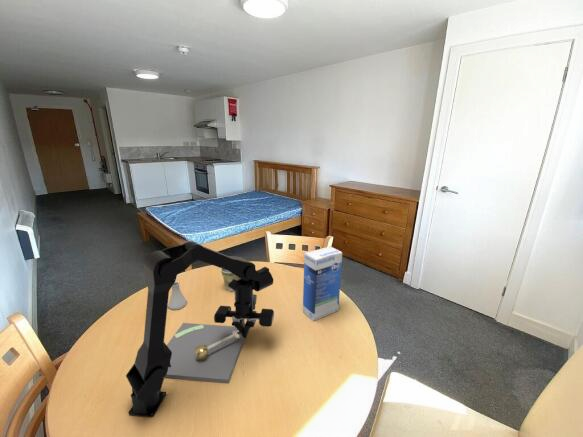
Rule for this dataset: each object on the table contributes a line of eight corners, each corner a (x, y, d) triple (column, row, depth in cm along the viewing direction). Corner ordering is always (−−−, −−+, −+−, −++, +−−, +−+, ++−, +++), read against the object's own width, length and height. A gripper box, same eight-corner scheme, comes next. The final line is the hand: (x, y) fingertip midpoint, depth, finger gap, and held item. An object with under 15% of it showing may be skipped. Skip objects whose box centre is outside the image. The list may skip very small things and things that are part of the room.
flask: (180, 311, 105) (177, 289, 102) (164, 309, 106) (161, 287, 104) (190, 301, 112) (188, 280, 109) (175, 299, 113) (172, 278, 110)
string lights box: (327, 302, 113) (330, 245, 106) (339, 311, 107) (343, 252, 100) (301, 311, 106) (303, 252, 99) (313, 322, 100) (316, 259, 93)
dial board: (228, 383, 74) (228, 379, 74) (147, 375, 76) (146, 372, 75) (247, 330, 95) (247, 326, 95) (183, 325, 97) (183, 322, 97)
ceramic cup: (217, 290, 120) (216, 271, 117) (229, 280, 129) (228, 261, 127) (243, 295, 116) (242, 275, 114) (253, 284, 126) (252, 265, 123)
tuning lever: (198, 362, 79) (197, 355, 78) (194, 355, 81) (193, 348, 80) (243, 340, 88) (242, 333, 87) (237, 334, 91) (237, 327, 90)
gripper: (276, 285, 91) (276, 323, 96) (223, 282, 93) (226, 320, 97) (271, 303, 81) (271, 346, 85) (212, 299, 82) (214, 341, 86)
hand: (245, 337), depth 89 cm, fingers closed
